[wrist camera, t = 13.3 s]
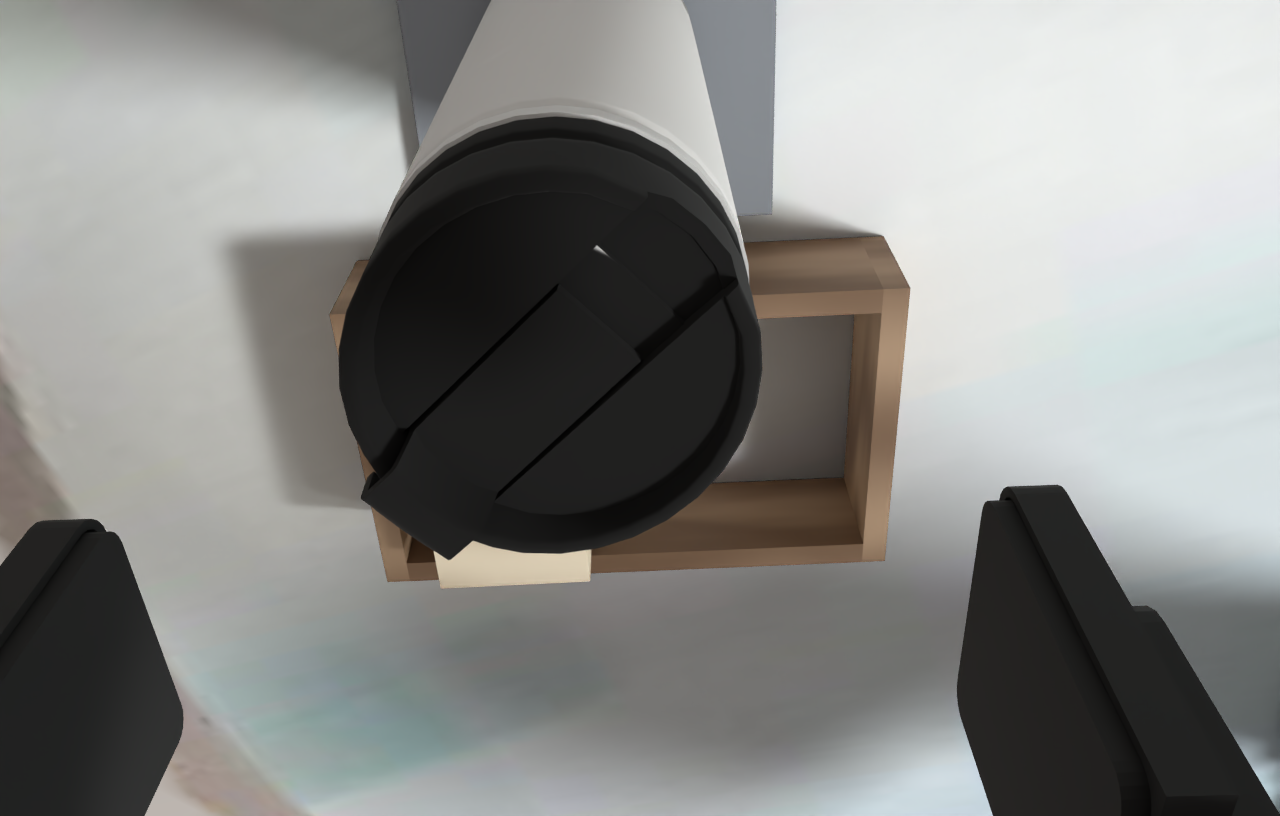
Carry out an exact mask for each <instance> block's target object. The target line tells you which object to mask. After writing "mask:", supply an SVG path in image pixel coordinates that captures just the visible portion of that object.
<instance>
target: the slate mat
mask: <svg viewBox="0 0 1280 816" xmlns="http://www.w3.org/2000/svg"><path fill="white" fill-rule="evenodd" d="M683 1H684V3H685V5H686V7H687V9H688V13H689V17H690V21H691V24H692V28H693V32H694V36H695V41H696V45H697V49H698V53H699V57H700V62H701V66H702V70H703V74H704V79H705V83H706V87H707V91H708V95H709V100H710V104H711V108H712V112H713V116H714V121H715V125H716V129H717V133H718V138H719V142H720V146H721V150H722V154H723V159H724V163H725V167H726V171H727V176H728V180H729V184H730V188H731V192H732V197H733V201H734V205H735V209H736V213H737V216H746V215H767V214H772V189H773V138H774V88H775V38H776V0H683ZM490 2H491V0H397V5H398V12H399V18H400V24H401V31H402V37H403V44H404V50H405V57H406V63H407V70H408V76H409V82H410V89H411V95H412V102H413V108H414V115H415V121H416V128H417V134H418V140H419V147H420V145H421V143H422V141H423V139H424V137H425V135H426V133H427V131H428V129H429V127H430V125H431V123H432V121H433V119H434V117H435V115H436V113H437V110H438V108H439V106H440V104H441V102H442V100H443V98H444V96H445V94H446V92H447V90H448V88H449V86H450V84H451V82H452V80H453V78H454V76H455V73H456V71H457V69H458V67H459V65H460V63H461V61H462V59H463V57H464V55H465V53H466V51H467V49H468V47H469V45H470V43H471V41H472V39H473V37H474V34H475V32H476V30H477V28H478V26H479V24H480V22H481V20H482V18H483V16H484V14H485V12H486V10H487V8H488V6H489V4H490Z"/></svg>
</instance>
